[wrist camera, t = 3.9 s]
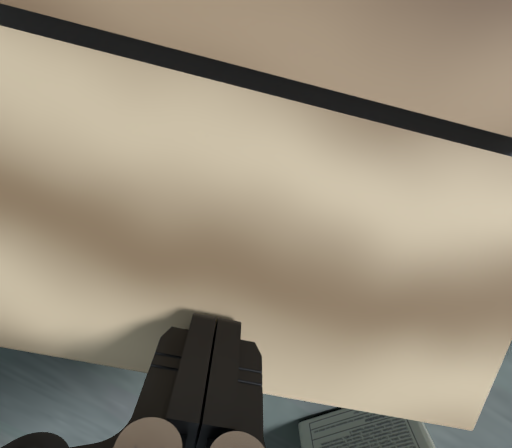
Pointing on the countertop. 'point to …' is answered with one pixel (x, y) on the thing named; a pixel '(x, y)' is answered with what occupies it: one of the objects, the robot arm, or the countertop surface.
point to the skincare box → (362, 431)
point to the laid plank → (337, 45)
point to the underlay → (250, 79)
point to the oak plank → (248, 233)
